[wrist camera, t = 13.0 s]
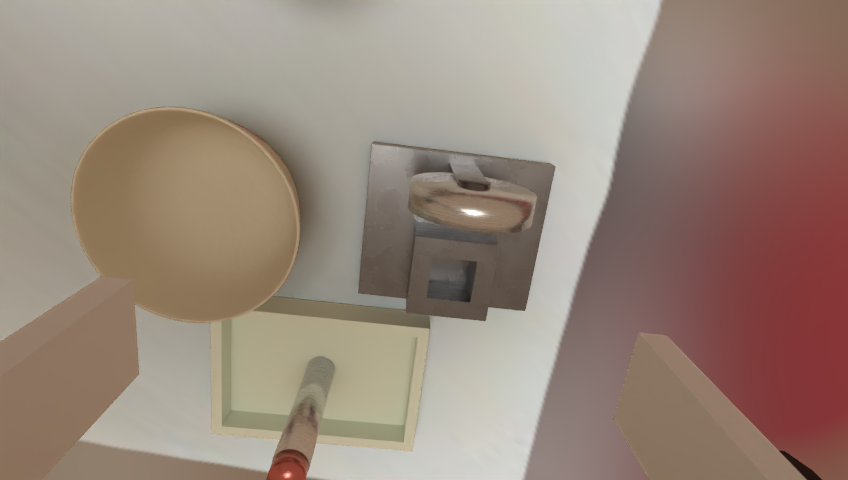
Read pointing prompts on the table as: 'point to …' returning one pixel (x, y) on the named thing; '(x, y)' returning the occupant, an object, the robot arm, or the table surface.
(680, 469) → the robot arm
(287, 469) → the pin
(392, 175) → the block
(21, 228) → the table surface
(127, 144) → the bowl
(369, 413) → the tray
